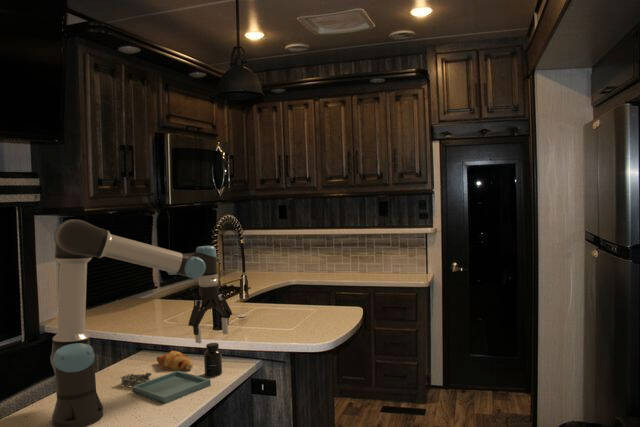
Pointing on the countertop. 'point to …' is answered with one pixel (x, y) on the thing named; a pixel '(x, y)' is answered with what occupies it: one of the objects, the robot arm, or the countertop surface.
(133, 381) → the egg carton
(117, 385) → the countertop surface
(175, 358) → the croissant
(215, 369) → the supplement bottle
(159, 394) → the tray
